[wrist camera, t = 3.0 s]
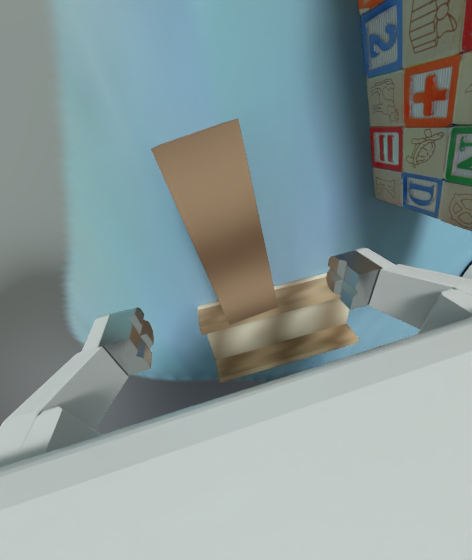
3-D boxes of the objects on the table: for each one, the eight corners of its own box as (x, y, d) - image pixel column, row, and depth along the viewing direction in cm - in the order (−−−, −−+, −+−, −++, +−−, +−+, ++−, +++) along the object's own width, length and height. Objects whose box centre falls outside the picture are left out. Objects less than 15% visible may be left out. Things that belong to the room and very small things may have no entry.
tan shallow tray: (355, 265, 24) (376, 280, 21) (342, 325, 29) (357, 342, 27) (197, 306, 22) (199, 328, 20) (216, 360, 28) (220, 383, 25)
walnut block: (161, 144, 14) (151, 148, 9) (218, 124, 14) (238, 118, 9) (218, 281, 21) (229, 324, 16) (255, 267, 21) (278, 307, 16)
